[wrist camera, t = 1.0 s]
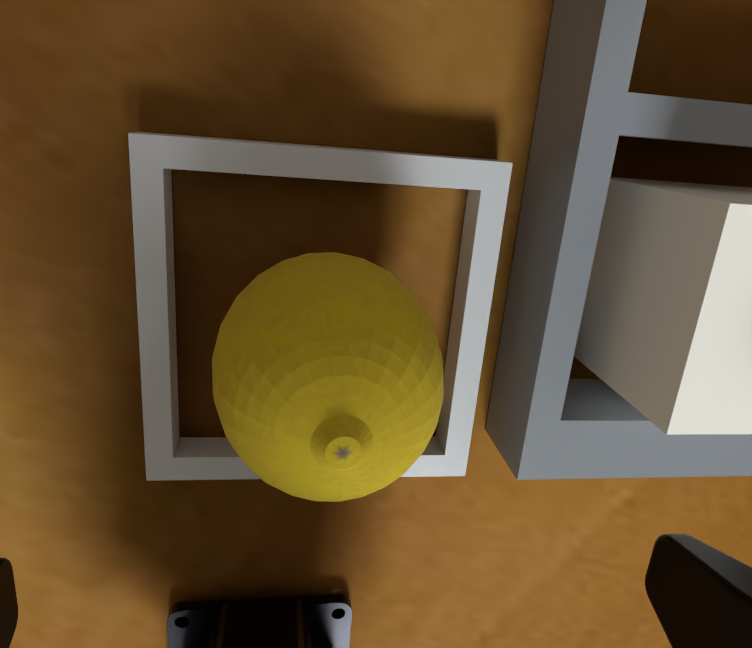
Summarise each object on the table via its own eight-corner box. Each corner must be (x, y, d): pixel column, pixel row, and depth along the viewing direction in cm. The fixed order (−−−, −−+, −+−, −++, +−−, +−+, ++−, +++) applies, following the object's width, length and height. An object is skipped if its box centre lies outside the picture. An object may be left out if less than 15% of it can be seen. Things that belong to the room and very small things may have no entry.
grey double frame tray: (738, 429, 22) (804, 474, 19) (485, 429, 21) (517, 479, 18) (964, -282, 15) (1115, -369, 13) (613, -367, 14) (697, -490, 11)
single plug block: (707, 347, 21) (898, 455, 14) (559, 344, 20) (693, 456, 13) (752, 187, 19) (995, 226, 13) (593, 175, 18) (765, 210, 12)
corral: (455, 456, 21) (464, 475, 20) (154, 459, 19) (146, 480, 18) (498, 159, 17) (512, 163, 16) (139, 131, 16) (128, 133, 15)
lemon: (401, 218, 18) (488, 295, 10) (410, 384, 20) (488, 552, 12) (213, 235, 17) (159, 331, 10) (241, 406, 19) (214, 597, 11)
